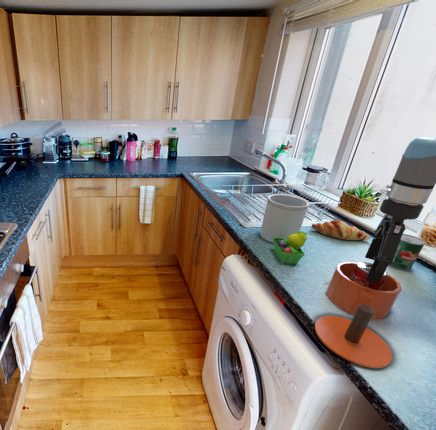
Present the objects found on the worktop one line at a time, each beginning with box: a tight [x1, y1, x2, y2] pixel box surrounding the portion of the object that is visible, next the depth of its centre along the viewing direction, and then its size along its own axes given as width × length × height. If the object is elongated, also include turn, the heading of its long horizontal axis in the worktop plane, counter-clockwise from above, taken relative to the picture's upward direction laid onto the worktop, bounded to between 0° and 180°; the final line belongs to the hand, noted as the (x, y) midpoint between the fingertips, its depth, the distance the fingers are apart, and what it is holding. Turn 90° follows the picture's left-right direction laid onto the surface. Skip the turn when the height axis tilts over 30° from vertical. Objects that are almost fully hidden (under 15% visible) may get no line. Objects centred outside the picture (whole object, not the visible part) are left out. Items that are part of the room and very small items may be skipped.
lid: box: [313, 304, 393, 369], centre depth 71 cm, size 16×16×11 cm
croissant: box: [311, 219, 372, 241], centre depth 124 cm, size 21×10×8 cm, turn 65°
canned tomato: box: [384, 233, 426, 272], centre depth 103 cm, size 8×8×11 cm
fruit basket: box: [273, 230, 308, 265], centre depth 106 cm, size 11×9×11 cm
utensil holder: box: [259, 193, 310, 244], centre depth 119 cm, size 15×15×18 cm
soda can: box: [349, 261, 389, 291], centre depth 84 cm, size 7×7×12 cm
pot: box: [326, 261, 402, 321], centre depth 85 cm, size 15×20×10 cm
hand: (371, 269), depth 82 cm, fingers open, 13 cm apart
